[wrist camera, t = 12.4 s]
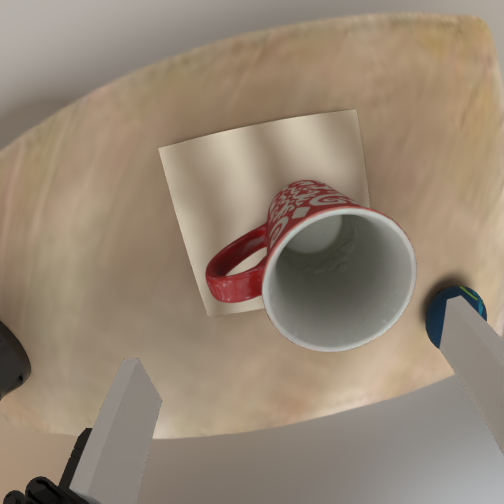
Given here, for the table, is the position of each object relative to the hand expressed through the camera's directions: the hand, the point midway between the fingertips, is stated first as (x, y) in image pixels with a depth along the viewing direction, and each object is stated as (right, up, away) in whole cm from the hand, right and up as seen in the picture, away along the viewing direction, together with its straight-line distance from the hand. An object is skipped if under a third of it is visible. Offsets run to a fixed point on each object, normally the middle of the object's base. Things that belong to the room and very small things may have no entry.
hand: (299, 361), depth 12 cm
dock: (0, +8, +20) cm, 22 cm away
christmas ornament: (+23, -2, +24) cm, 34 cm away
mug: (+1, +7, +17) cm, 19 cm away
